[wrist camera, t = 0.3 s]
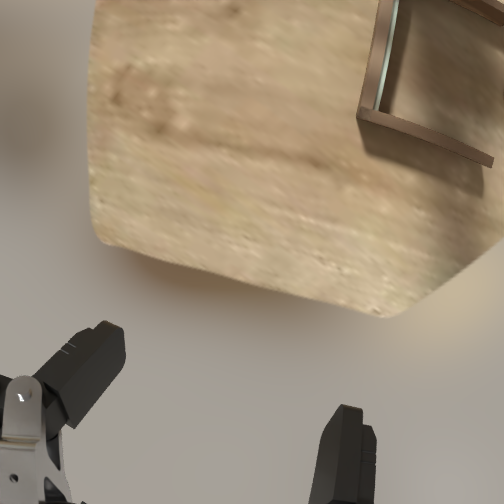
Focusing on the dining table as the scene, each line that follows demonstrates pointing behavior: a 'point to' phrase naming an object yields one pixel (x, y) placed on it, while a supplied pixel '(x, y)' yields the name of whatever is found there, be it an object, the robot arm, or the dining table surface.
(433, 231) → the dining table surface
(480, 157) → the bay
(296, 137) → the dining table surface
